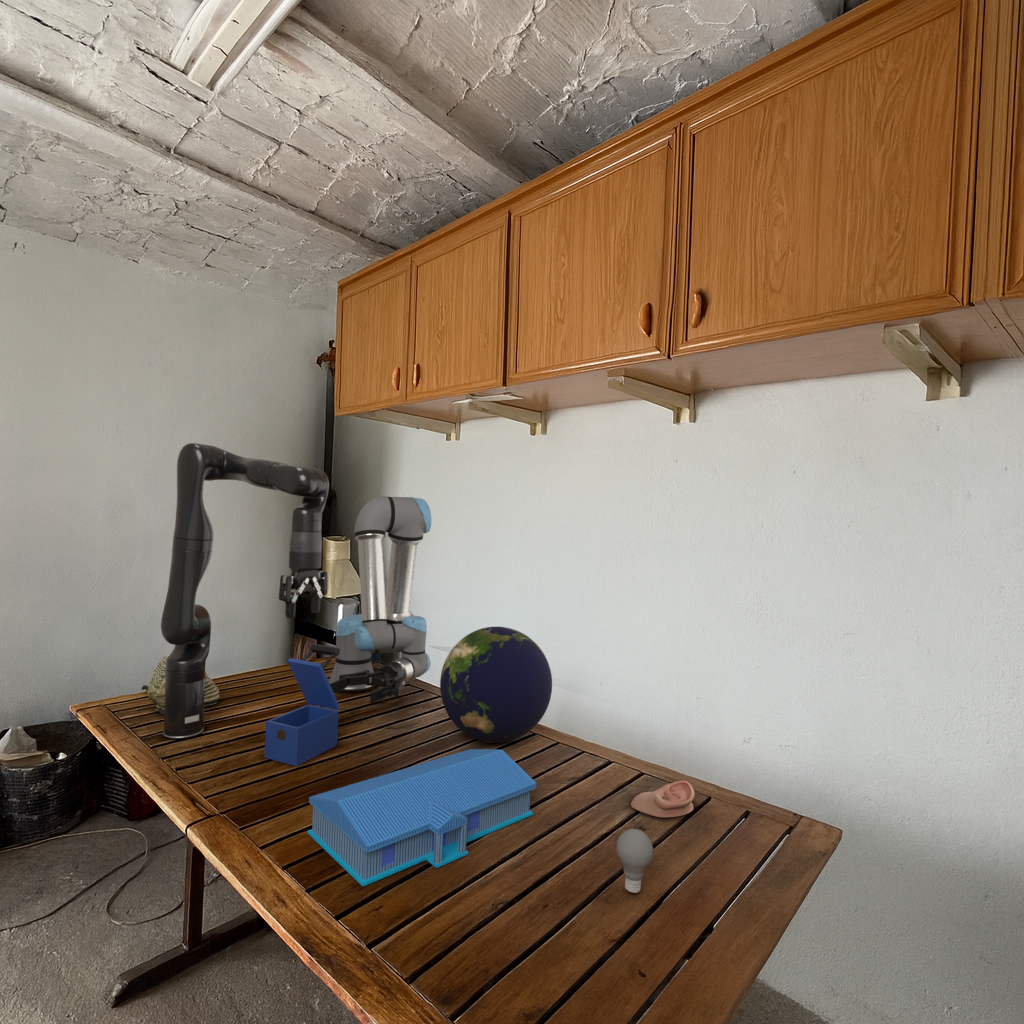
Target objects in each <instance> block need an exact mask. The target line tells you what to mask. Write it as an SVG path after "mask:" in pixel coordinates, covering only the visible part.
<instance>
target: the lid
mask: <svg viewBox="0 0 1024 1024" xmlns="http://www.w3.org/2000/svg"><path fill="white" fill-rule="evenodd" d="M313 653H314V654H320V655H326V656H329V657H327V659H326V660H325V661H324V662H323V664H322V663H320V662H319V663H318V662H314V661H308V659H309V658H310V657H311V655H313ZM339 654H340V649H339V648H336V646H330V645H323V644H318V643H312V644H311V645H310V648H309V651H308V652H307V653H306V654H305V655H304V657H303V658H302V659H298V658H292V657H290V658H288V659H287V663H288V665H289V668H290V670H291V672H292V674H293V676H294V678H295V680H296V683H297V685H298V688H299V689H300V691H301V693H302V696H303V697H304V699H305V702H306V704H307V705H308V704H309V705H314V706H319V707H323V708H328V709H333V710H337V711H339V709H340V707H341V706H340V704H339V701H338V700H337V697H336V695H335V693H334V692H333V690H332V688H331V686H330V683H329V679H328V676H327V674H326V672H325V668H326V667H327V666H328V665H329V664H330V662H332V660H333V659H334V657H336V656H338V655H339Z"/></svg>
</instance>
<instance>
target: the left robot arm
mask: <svg viewBox="0 0 1024 1024" xmlns="http://www.w3.org/2000/svg"><path fill="white" fill-rule="evenodd" d="M205 481H206V482H207V481H208V482H213V481H238V482H243V483H246V484H248V485H251V486H254V487H258V488H262V489H266V490H272V491H277V492H278V491H279V492H282V493H285V494H289V495H292V496H296V497H302V499H301V502H300V505H298V506H296V507H294V508H293V510H292V513H291V531H290V537H289V548H288V549H289V550H288V552H289V554H288V568H289V569H290V570H291V573H290V575H286V574H282V575H280V577H279V578H280V579H279V590H278V591H279V592H278V600H279V601H282V602H284V603H285V613H284V614H285V618H287V619H291V620H293V619H295V618H296V613H297V612H296V608H297V603H296V602H297V600H298V598H299V596H301V595H302V593H305V592H309V593H310V596H311V598H310V600H311V601H310V613H311V614H320V613H321V612H320V611H321V603H322V602H321V601H322V600H321V599H322V598H323V596H324V595H325V596H326V595H327V594H328V571H326V570H320V569H321V568H322V557H323V556H322V555H323V553H322V552H323V537H322V527H323V526H322V523H323V512H324V509H325V506H326V502H327V499H328V496H329V492H330V491H329V489H330V482H329V477H328V476H327V473H326V472H325V471H324V470H322V469H320V468H314V467H305V466H296V465H289V464H287V463H284V462H281V461H274V460H270V459H269V460H268V459H262V458H253V457H252V458H250V457H246V456H241V455H238V454H235V453H232V452H229V451H228V450H226V449H223V448H220V447H218V446H215V445H211V444H204V443H198V442H196V443H195V442H190V443H189V442H188V443H187V444H185V445H183V446H182V447H181V449H180V451H179V453H178V456H177V462H176V508H175V522H174V530H173V537H172V545H171V560H170V568H169V577H168V586H167V592H166V596H165V601H164V606H163V610H162V613H161V614H162V615H161V620H160V631H161V635H162V638H163V639H164V640H165V641H166V642H167V643H168V644H170V645H173V646H174V647H173V650H172V651H171V652H170V653H169V654H168V655H169V656H168V657H167V659H166V674H165V705H164V710H163V709H162V708H157V709H158V710H157V711H158V712H159V714H161V715H162V716H163V731H162V737H164V738H166V739H169V740H185V739H190V738H191V739H192V738H194V737H197V736H199V735H202V734H203V732H204V730H205V729H204V722H205V721H204V718H205V706H204V693H205V672H206V664H207V663H206V662H207V658H208V655H209V653H210V647H211V636H212V619H211V614H210V613H209V611H208V610H207V608H206V607H204V606H203V605H200V604H196V598H197V592H198V588H199V586H200V584H201V581H202V579H203V577H204V575H205V573H206V571H207V569H208V566H209V564H210V562H211V559H212V553H213V546H214V535H215V534H214V533H215V532H214V527H213V524H212V522H211V519H210V517H209V514H208V513H207V510H206V507H205V504H204V495H203V494H204V484H205ZM148 688H149V685H146V684H144V685H142V687H141V690H143V691H144V690H145V691H146V692H147V693H148Z"/></svg>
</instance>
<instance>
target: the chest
mask: <svg viewBox="0 0 1024 1024" xmlns="http://www.w3.org/2000/svg"><path fill="white" fill-rule="evenodd" d="M264 737H265V739H264V759H268V760H272V761H275V762H279V763H284V764H287V765H290V766H294V767H298V766H300V765H302V764H303V763H306V762H308V761H309V760H311V759H313V758H315V757H317V756H320V755H321V754H324V753H325V752H327V751H329V750H331V749H333V748H335V747H336V746H338V740H339V738H338V737H339V710H336V709H331V708H326V707H322V706H317V705H312V704H308V703H307V704H306V705H304V706H301V707H298V708H296V709H293V710H291V711H288V712H286V713H283V714H281V715H278V716H276V717H273V718H271V719H268V720H266V721H265V736H264Z"/></svg>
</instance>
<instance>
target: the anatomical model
mask: <svg viewBox="0 0 1024 1024" xmlns="http://www.w3.org/2000/svg"><path fill="white" fill-rule="evenodd" d="M694 799H695V790H694V788H693V785H691V783H690V782H689V781H686V780H679V781H675V782H671V783H668V784H666V785H664V786H662V787H660V788H658V789H656V790H653V791H643V792H640V793H639V794H637V795H636V796H634V798H633V799H632V800H631V802H630V807H631V808H632V809H633V810H635V811H638V812H641V813H643V814H646V815H648V816H652V817H656V818H675V817H682V816H686V815H687V814H690V813H691V812H693V810H694V804H693V803H692V802H693V801H694Z"/></svg>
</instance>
